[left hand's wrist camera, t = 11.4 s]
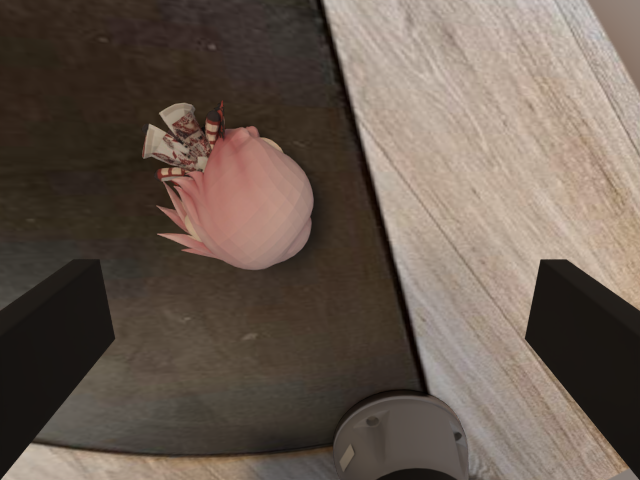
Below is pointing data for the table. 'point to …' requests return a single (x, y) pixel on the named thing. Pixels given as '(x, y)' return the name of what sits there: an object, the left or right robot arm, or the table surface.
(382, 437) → the left robot arm
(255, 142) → the toy
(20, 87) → the table surface
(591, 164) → the table surface
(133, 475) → the table surface
